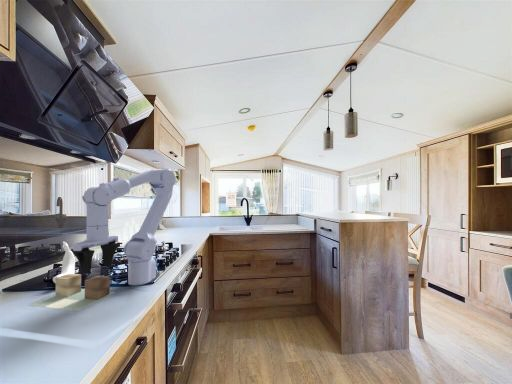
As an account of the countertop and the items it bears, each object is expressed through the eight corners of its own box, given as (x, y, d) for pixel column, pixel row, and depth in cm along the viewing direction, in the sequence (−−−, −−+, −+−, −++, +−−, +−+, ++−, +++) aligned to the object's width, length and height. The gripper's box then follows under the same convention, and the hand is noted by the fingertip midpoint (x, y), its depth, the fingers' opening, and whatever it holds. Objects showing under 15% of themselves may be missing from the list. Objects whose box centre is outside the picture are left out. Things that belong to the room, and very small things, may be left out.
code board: (72, 291, 83) (72, 288, 83) (115, 295, 80) (115, 291, 80) (27, 309, 70) (28, 305, 70) (76, 314, 67) (76, 311, 67)
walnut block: (97, 292, 79) (97, 275, 79) (109, 293, 78) (109, 276, 78) (84, 298, 75) (84, 280, 75) (97, 299, 74) (97, 281, 74)
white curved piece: (52, 294, 81) (52, 249, 81) (61, 277, 97) (61, 240, 97) (70, 291, 83) (71, 247, 84) (76, 275, 100) (76, 239, 100)
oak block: (69, 290, 82) (69, 273, 82) (81, 291, 81) (81, 274, 81) (55, 295, 77) (55, 278, 77) (67, 296, 76) (67, 279, 76)
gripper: (105, 222, 85) (105, 262, 85) (64, 228, 71) (64, 276, 70) (123, 223, 83) (123, 263, 83) (84, 228, 69) (84, 277, 69)
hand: (97, 269), depth 77 cm, fingers open, 7 cm apart
